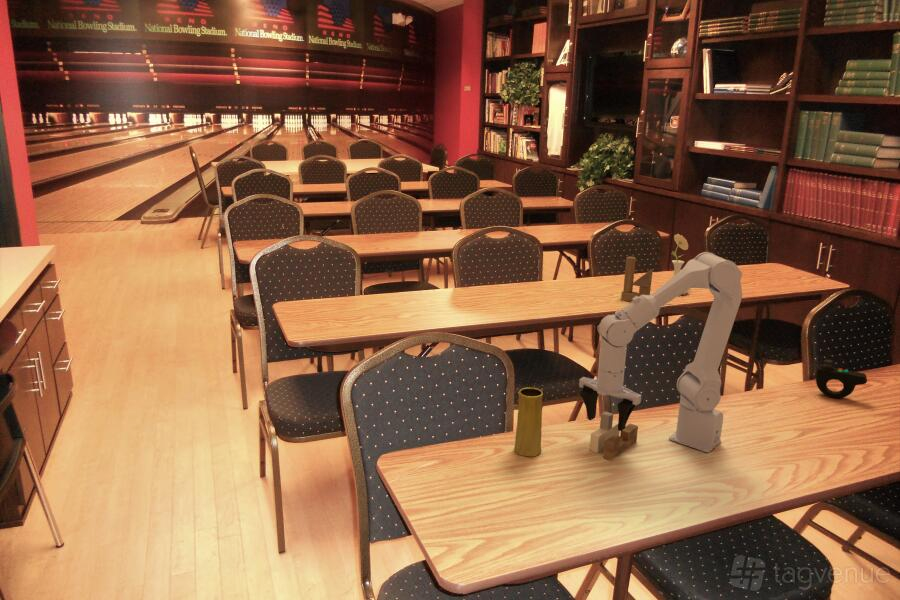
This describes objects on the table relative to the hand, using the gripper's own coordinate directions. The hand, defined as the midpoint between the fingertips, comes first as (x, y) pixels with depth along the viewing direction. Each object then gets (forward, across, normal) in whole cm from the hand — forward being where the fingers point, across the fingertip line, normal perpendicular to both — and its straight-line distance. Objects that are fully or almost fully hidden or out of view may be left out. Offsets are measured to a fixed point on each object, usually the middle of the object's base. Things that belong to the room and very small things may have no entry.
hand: (606, 423), depth 152 cm
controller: (+5, +33, +68) cm, 76 cm away
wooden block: (+5, -51, +116) cm, 127 cm away
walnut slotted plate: (+5, +4, 0) cm, 6 cm away
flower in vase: (+5, -46, +142) cm, 149 cm away
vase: (+5, -11, -15) cm, 19 cm away
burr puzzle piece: (+5, 0, 0) cm, 5 cm away
